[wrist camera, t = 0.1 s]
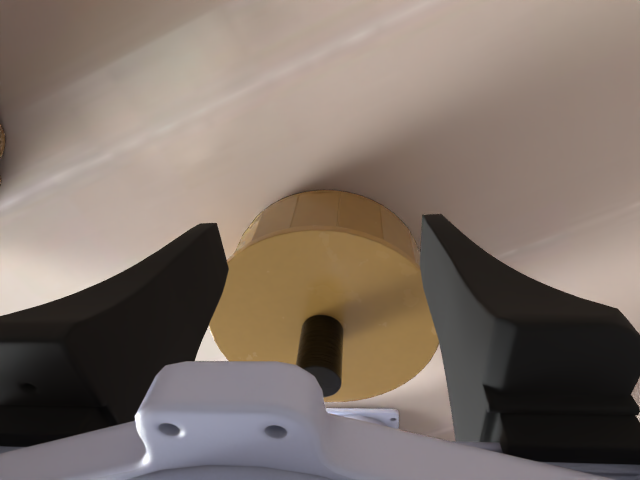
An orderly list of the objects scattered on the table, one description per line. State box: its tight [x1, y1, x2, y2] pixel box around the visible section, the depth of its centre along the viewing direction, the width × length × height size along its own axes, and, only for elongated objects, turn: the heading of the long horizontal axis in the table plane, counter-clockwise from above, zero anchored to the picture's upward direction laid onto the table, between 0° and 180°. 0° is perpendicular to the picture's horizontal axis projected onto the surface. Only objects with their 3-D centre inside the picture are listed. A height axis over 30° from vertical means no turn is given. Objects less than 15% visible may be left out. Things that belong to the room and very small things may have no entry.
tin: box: [235, 190, 420, 265], centre depth 25 cm, size 12×12×5 cm
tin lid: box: [209, 225, 439, 402], centre depth 22 cm, size 13×13×5 cm
